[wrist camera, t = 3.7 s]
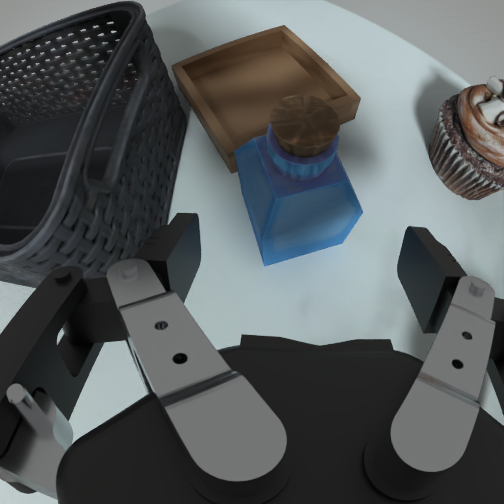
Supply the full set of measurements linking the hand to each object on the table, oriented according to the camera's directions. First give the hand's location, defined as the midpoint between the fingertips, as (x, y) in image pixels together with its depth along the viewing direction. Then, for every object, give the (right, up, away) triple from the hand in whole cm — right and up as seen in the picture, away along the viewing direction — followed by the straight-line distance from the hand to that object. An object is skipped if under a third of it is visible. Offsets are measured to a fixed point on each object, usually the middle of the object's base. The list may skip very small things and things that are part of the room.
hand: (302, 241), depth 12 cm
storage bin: (-23, +6, +16) cm, 28 cm away
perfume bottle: (+1, +2, +13) cm, 13 cm away
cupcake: (+18, +8, +14) cm, 24 cm away
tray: (-1, +14, +16) cm, 22 cm away
